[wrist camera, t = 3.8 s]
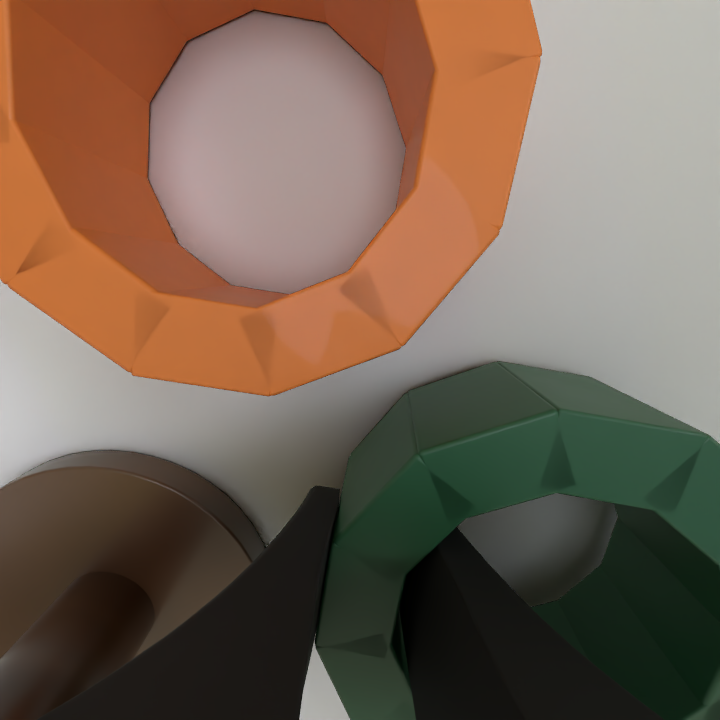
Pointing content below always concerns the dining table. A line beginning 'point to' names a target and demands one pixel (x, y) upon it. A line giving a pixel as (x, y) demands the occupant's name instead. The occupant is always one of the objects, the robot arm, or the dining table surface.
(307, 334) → the orange ring
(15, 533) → the dark brown cylinder peg
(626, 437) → the green ring
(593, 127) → the dining table surface
